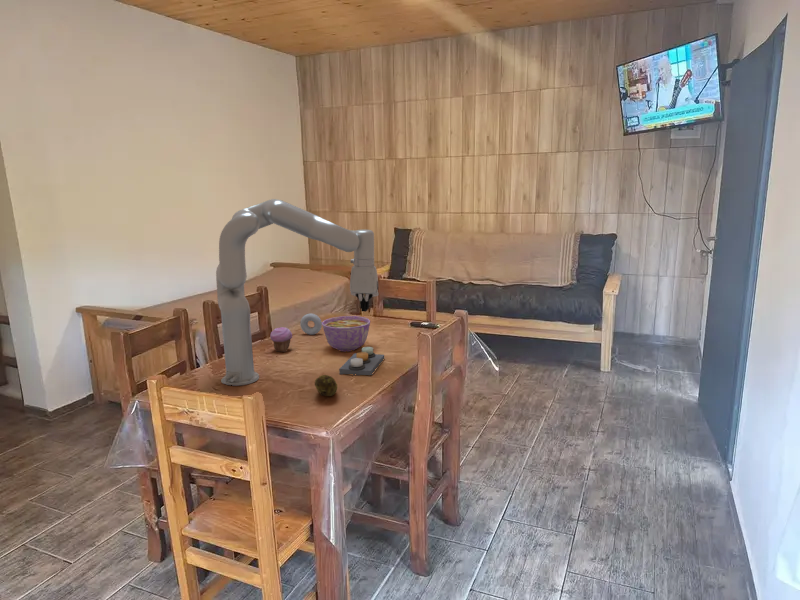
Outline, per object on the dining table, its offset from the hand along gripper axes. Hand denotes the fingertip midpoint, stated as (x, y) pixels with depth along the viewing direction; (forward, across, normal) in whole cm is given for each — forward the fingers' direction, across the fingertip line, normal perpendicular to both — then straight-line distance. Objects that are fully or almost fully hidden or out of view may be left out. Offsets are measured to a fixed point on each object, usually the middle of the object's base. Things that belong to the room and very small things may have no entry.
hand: (364, 310), depth 214 cm
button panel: (+20, +1, -6) cm, 21 cm away
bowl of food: (+20, -12, +15) cm, 28 cm away
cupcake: (+21, -38, +8) cm, 44 cm away
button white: (+17, +1, -13) cm, 22 cm away
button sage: (+17, +1, +1) cm, 17 cm away
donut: (+21, -35, +33) cm, 52 cm away
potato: (+21, -2, -36) cm, 42 cm away
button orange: (+17, +1, -6) cm, 18 cm away
